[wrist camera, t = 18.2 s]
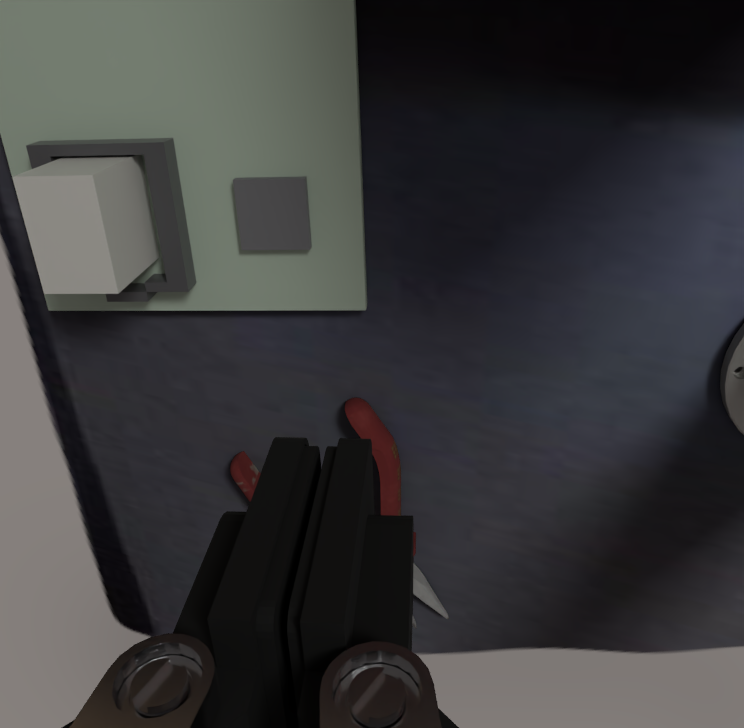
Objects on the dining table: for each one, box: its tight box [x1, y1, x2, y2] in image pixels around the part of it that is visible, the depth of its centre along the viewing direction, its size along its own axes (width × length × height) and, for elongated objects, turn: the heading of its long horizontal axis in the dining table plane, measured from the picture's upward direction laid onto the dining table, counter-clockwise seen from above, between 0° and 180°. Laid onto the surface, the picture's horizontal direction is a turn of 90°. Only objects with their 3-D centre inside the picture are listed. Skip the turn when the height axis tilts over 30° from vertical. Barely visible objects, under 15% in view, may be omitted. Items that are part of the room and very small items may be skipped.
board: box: [0, 0, 367, 311], centre depth 36 cm, size 20×22×2 cm
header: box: [26, 138, 196, 302], centre depth 38 cm, size 8×9×2 cm
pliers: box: [230, 398, 448, 628], centre depth 49 cm, size 12×20×3 cm, turn 30°
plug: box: [12, 155, 160, 294], centre depth 36 cm, size 4×7×6 cm, turn 2°
